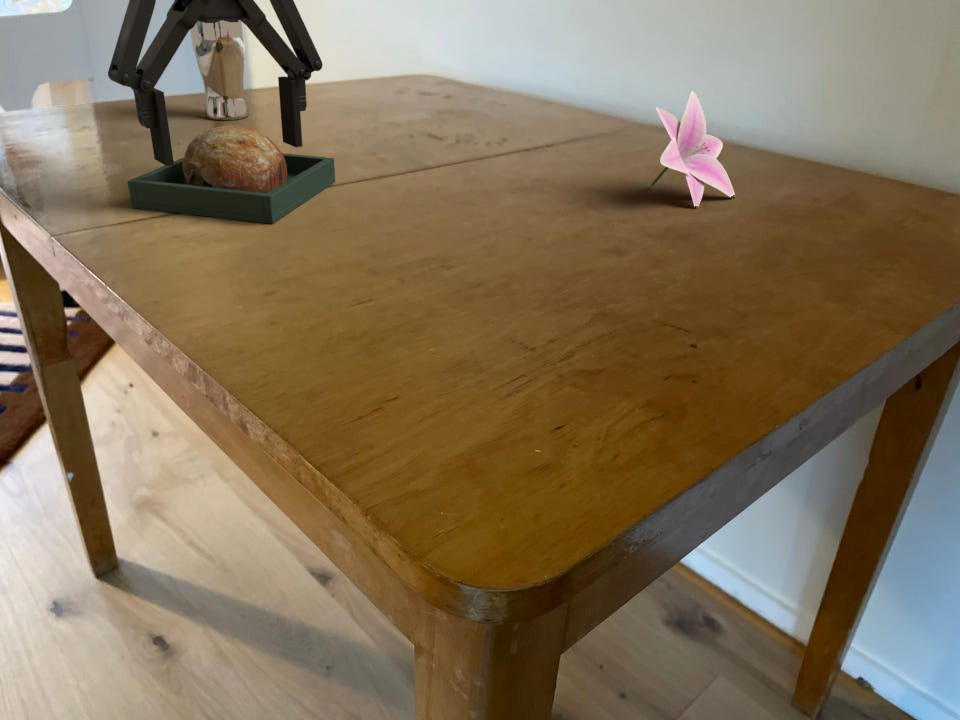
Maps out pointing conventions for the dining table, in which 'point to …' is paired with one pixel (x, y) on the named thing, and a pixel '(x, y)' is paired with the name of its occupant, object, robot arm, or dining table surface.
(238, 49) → the beer glass
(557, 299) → the dining table surface
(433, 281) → the dining table surface
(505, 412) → the dining table surface
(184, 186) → the dark green square tray
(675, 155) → the lily
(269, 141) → the bread roll
